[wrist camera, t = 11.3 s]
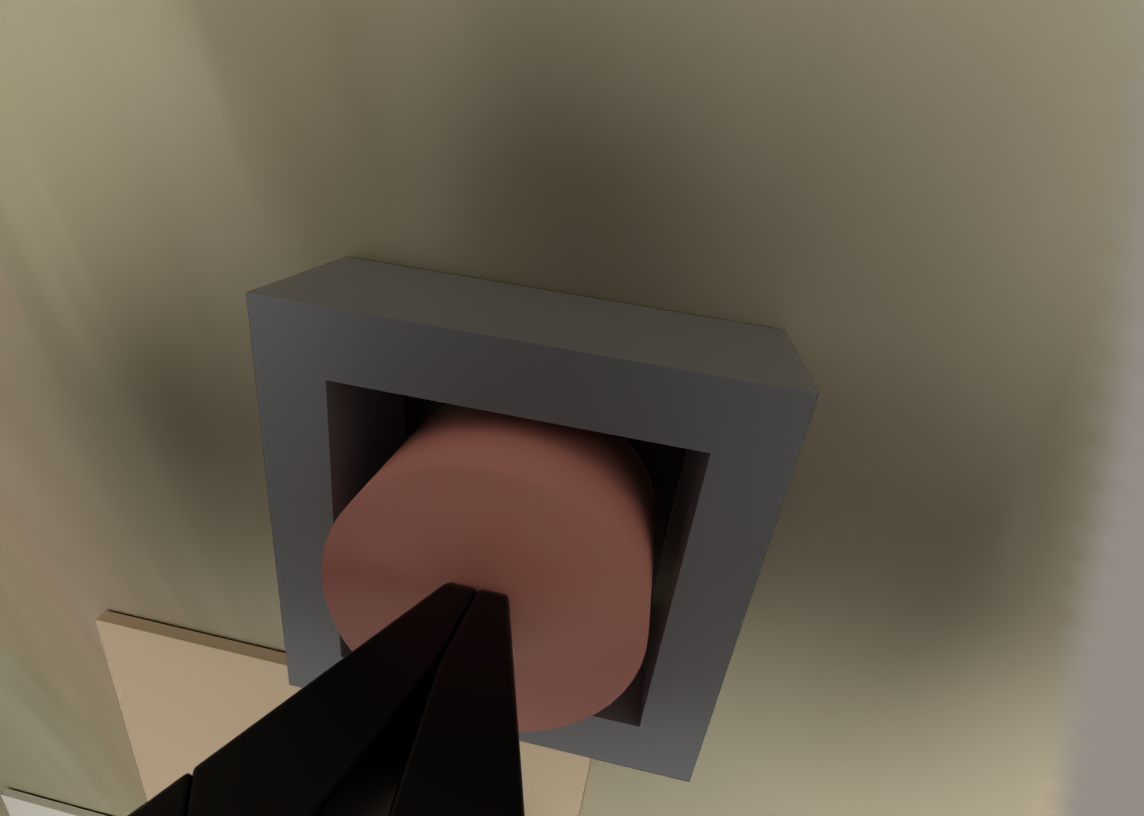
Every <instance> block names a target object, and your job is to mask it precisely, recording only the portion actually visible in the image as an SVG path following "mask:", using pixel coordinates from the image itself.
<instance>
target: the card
mask: <svg viewBox="0 0 1144 816" xmlns="http://www.w3.org/2000/svg"><path fill="white" fill-rule="evenodd" d="M1 797H2V799H3V801H4V803H5V806H6V808H7V810H8V812H9V814H10V816H106V815H102V814H99V813H95V812H91V811H88V810H84V809H81V808H77V807H73V806H70V805H66V804H62V803H59V802H55V801H51V800H48V799H44V798H40V797H37V796H33V795H29V794H26V793H22V792H19V791H15V790H11V789H8V788H7V789H6V790H5V791H4V792H3V793H2V794H1Z"/></svg>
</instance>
